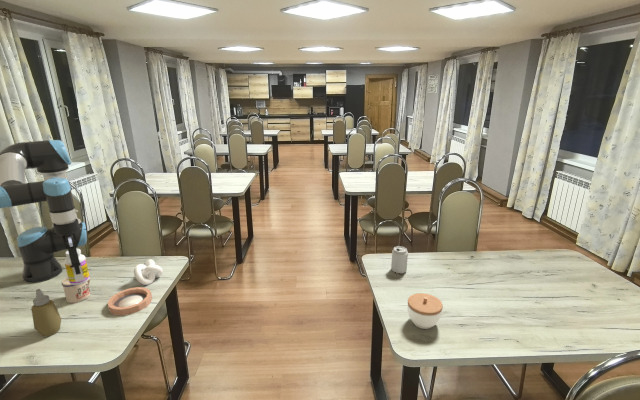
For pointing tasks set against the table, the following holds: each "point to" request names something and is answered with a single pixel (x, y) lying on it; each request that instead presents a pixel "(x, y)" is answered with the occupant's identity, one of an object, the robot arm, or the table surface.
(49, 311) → the squeeze bottle
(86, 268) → the supplement bottle
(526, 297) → the table surface
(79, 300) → the teacup with lid
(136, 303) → the saucer tray
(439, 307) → the lidded bowl
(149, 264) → the white decorative knot
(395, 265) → the can
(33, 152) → the robot arm
